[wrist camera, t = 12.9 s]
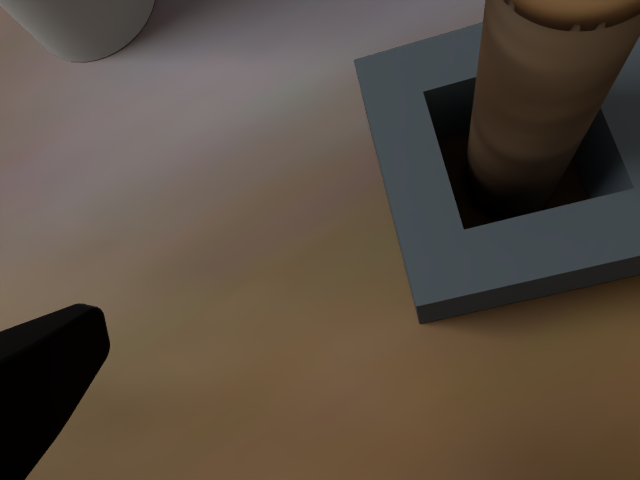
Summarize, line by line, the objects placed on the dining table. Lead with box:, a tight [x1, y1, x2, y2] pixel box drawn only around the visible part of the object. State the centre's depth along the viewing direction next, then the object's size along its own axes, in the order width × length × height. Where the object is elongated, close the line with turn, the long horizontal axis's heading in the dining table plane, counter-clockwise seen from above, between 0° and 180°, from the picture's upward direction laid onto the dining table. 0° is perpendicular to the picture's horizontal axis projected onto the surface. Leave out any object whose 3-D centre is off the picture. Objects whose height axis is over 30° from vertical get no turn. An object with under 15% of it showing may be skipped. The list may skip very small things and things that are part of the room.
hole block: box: [354, 22, 640, 324], centre depth 21 cm, size 10×10×4 cm
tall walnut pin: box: [464, 0, 640, 221], centre depth 17 cm, size 4×4×13 cm
